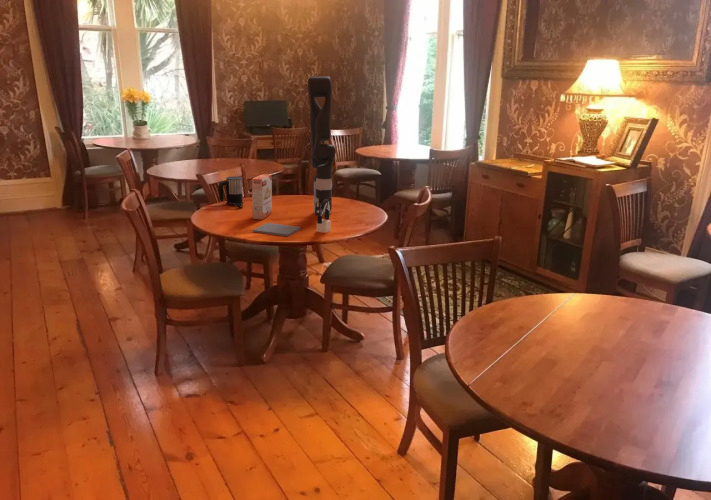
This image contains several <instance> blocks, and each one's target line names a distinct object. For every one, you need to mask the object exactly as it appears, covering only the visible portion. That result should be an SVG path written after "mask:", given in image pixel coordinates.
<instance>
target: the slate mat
mask: <svg viewBox="0 0 711 500" xmlns="http://www.w3.org/2000/svg"><path fill="white" fill-rule="evenodd" d="M300 230H302V227H301V226H295V225H287V224H280V223H272V222H266V223H264V224H262V225H261V226H258V227H256V228H254V229H252V231H253V232H252V233H258V232H259V233H258V234H267V235H273V236H274V235H275V236H281V237H287V238H288V237H290V236H291V235H294V234H295V233H297V232H298V231H300Z"/></svg>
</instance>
